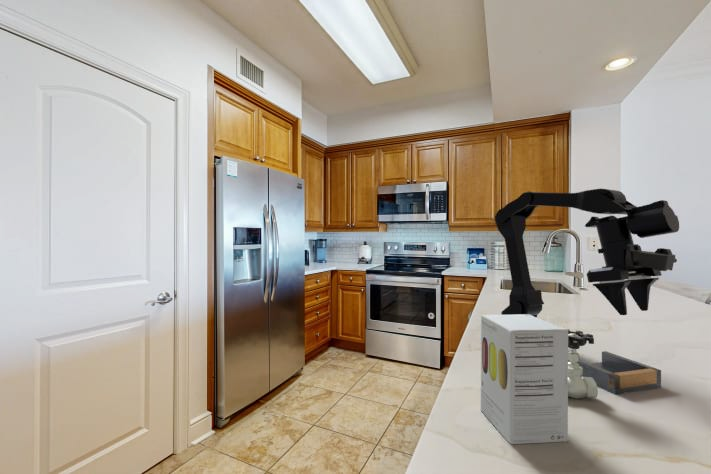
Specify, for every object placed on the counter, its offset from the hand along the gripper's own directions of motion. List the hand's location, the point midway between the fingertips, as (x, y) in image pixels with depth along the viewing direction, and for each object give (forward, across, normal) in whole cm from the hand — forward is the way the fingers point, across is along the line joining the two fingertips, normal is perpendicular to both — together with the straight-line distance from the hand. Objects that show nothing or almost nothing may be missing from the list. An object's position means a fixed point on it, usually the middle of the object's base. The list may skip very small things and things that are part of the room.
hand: (634, 312), depth 68 cm
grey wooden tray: (+13, -6, +5) cm, 15 cm away
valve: (+14, -21, +4) cm, 25 cm away
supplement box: (+14, -38, +2) cm, 41 cm away
